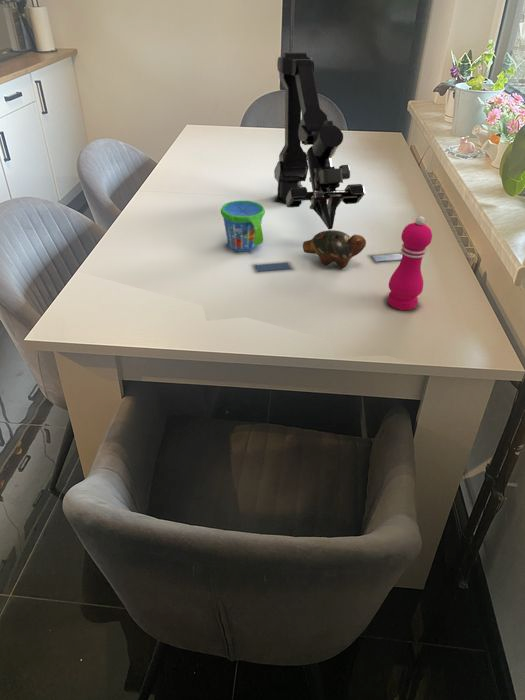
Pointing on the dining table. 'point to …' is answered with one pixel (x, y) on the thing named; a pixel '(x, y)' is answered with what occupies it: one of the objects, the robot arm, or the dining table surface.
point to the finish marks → (285, 266)
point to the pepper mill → (410, 266)
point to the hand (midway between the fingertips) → (330, 228)
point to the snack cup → (243, 224)
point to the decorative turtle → (335, 247)
